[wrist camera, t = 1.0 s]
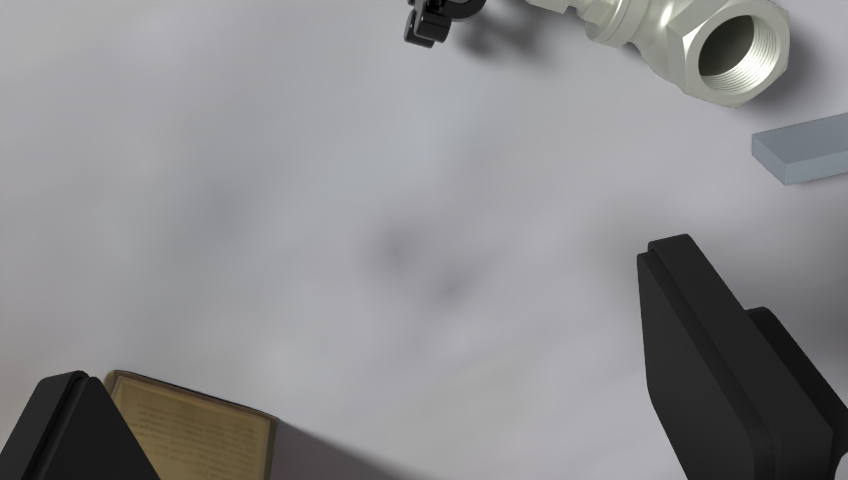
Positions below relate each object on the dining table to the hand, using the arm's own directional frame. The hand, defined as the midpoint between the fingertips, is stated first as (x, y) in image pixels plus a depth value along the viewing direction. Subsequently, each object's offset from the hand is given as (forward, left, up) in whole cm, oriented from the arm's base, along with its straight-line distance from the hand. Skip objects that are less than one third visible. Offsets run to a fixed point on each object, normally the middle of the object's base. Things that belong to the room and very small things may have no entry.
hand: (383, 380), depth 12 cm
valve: (0, +8, -20) cm, 22 cm away
